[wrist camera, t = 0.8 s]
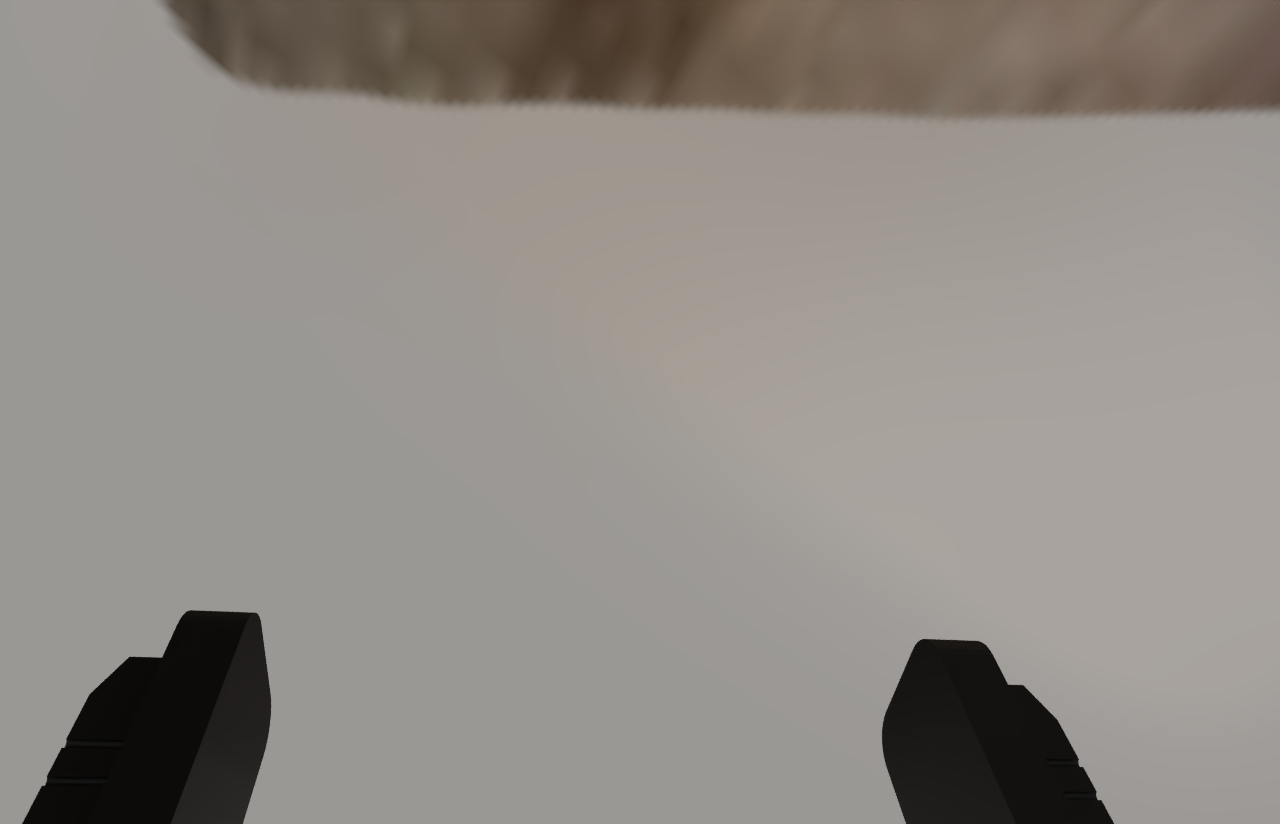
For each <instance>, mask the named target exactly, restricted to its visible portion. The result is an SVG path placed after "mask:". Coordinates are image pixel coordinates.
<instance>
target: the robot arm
mask: <svg viewBox="0 0 1280 824" xmlns="http://www.w3.org/2000/svg"><path fill="white" fill-rule="evenodd" d="M270 718H271V695H270V688H269V679H268V672H267V664H266V656H265V650H264V641H263V634H262V626H261V620H260V617H259V615H258V614H257V613H247V612H246V613H245V612H221V611H193V610H190V611H187V612H186V613H185V614H184V615H183V616H182V617H181V619H180V621H179V623H178V624H177V626H176V629H175V631H174V633H173V635H172V637H171V640H170V642H169V644H168V646H167V648H166V650H165V653H164V655H163V657H162V658H153V657H129V658H128V659H127V660H126V661H125V662H124V663H122V665H120V666H119V667H118V668H117V669H116V670H115V671H114V672H113V673H112V674H111V675H110V676H109V677H108V678H107V679H105V680H104V681H103V682H102V683H101V684H100V685H99V686H98V687H97V688H96V689H95V690H94V691H93V692H92V693H91V694H90V695H89V697H88V698H87V700H86V702H85V704H84V706H83V708H82V710H81V712H80V714H79V716H78V718H77V720H76V721H75V723H74V726H73V727H72V729H71V731H70V733H69V735H68V737H67V739H66V740H67V742H66V746H65V748H61V750H60V752H59V754H58V756H57V758H56V760H55V762H54V764H53V766H52V768H51V769H50V771H49V773H48V775H47V782H46V785H45V786H42V787H41V789H40V791H39V792H38V795H37V796H36V798H35V800H34V802H33V804H32V806H31V808H30V810H29V812H28V814H27V816H26V817H25V819H24V822H23V823H22V824H243V821H244V818H245V815H246V811H247V808H248V804H249V801H250V798H251V794H252V792H253V788H254V785H255V782H256V779H257V775H258V772H259V769H260V765H261V762H262V759H263V756H264V752H265V748H266V743H267V739H268V733H269V727H270ZM882 745H883V753H884V759H885V763H886V766H887V769H888V772H889V775H890V778H891V781H892V784H893V787H894V790H895V793H896V796H897V799H898V801H899V804H900V807H901V810H902V813H903V816H904V819H905V822H906V824H1114V823H1113V821H1112V819H1111V817H1110V816H1109V814H1108V812H1107V810H1106V808H1105V806H1104V804H1103V803H1102V801H1101V800H1097V797H1096V790H1095V788H1094V786H1093V784H1092V782H1091V781H1090V779H1089V777H1088V775H1087V773H1086V772H1085V770H1084V768H1083V767H1080V766H1079V764H1078V760H1079V759H1078V757H1077V755H1076V754H1075V751H1074V750H1073V748H1072V746H1071V744H1070V742H1069V741H1068V739H1067V737H1066V735H1065V733H1064V731H1063V729H1062V728H1061V726H1060V724H1059V722H1058V720H1057V719H1056V718H1055V717H1054V716H1053V715H1052V714H1051V713H1050V712H1049V711H1048V710H1047V709H1046V708H1045V707H1044V706H1043V705H1042V704H1041V703H1040V702H1039V701H1038V700H1037V699H1036V698H1035V697H1034V696H1033V695H1032V694H1031V693H1030V692H1029V691H1028V690H1027V689H1026V688H1025V686H1023V685H1008V684H1007V682H1006V680H1005V678H1004V676H1003V674H1002V672H1001V670H1000V668H999V666H998V664H997V662H996V660H995V658H994V656H993V654H992V653H991V651H990V650H989V648H988V647H987V646H986V645H985V644H983V643H982V642H979V641H964V640H963V641H962V640H936V639H922V640H920V641H919V642H917V644H916V645H915V647H914V649H913V651H912V653H911V655H910V658H909V660H908V662H907V665H906V667H905V670H904V672H903V674H902V676H901V679H900V681H899V683H898V686H897V688H896V690H895V693H894V695H893V697H892V700H891V702H890V704H889V706H888V709H887V711H886V714H885V717H884V721H883V728H882Z"/></svg>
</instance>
